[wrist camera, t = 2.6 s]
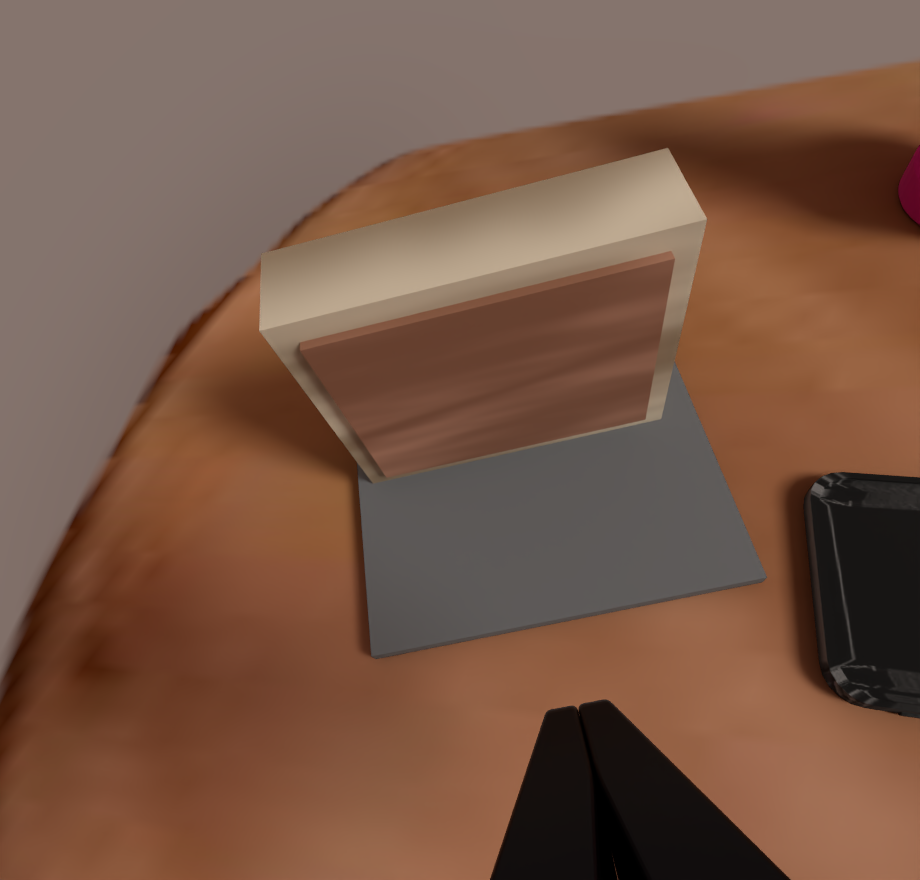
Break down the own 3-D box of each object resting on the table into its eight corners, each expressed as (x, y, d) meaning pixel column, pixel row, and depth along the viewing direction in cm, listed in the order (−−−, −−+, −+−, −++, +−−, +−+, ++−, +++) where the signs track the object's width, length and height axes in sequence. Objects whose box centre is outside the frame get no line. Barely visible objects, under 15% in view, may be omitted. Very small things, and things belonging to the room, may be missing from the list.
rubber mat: (762, 582, 20) (767, 577, 20) (376, 659, 22) (371, 656, 21) (593, 183, 32) (594, 173, 31) (344, 247, 33) (340, 239, 32)
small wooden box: (663, 425, 23) (711, 227, 15) (373, 490, 24) (259, 339, 16) (638, 360, 25) (667, 147, 16) (367, 423, 26) (261, 253, 17)
